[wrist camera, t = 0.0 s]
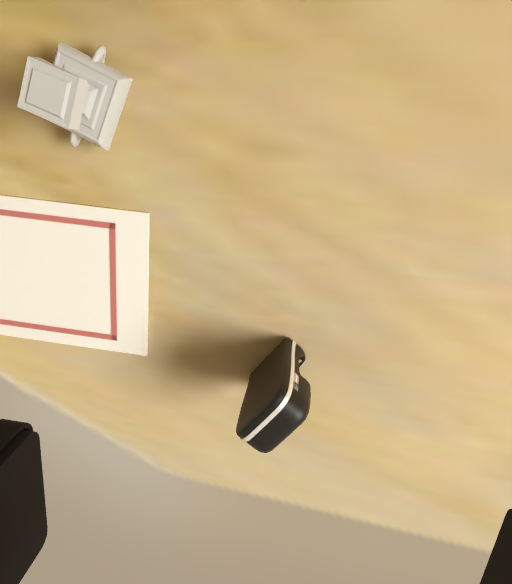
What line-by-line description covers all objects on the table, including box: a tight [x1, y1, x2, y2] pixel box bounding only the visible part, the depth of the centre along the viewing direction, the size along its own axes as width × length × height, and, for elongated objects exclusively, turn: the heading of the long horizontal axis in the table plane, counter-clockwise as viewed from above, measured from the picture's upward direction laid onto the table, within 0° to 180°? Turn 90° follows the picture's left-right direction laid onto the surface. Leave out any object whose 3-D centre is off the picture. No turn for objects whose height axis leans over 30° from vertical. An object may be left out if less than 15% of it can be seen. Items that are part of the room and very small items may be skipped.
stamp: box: [17, 43, 133, 150], centre depth 38 cm, size 9×7×8 cm
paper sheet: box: [0, 195, 149, 356], centre depth 49 cm, size 16×22×1 cm
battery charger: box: [236, 338, 311, 453], centre depth 44 cm, size 7×4×11 cm, turn 140°
